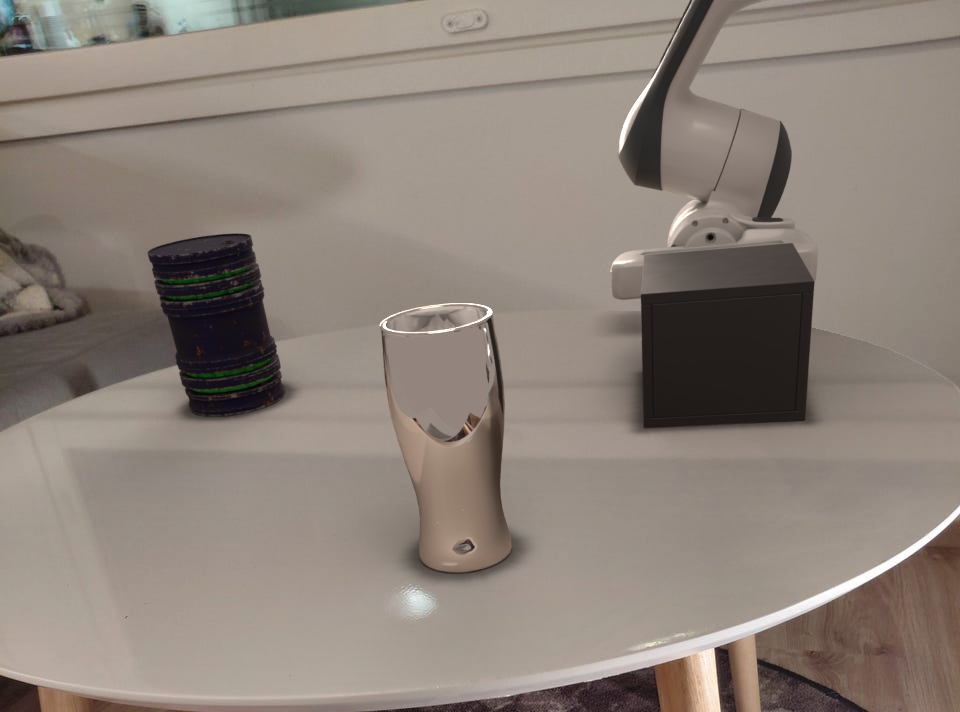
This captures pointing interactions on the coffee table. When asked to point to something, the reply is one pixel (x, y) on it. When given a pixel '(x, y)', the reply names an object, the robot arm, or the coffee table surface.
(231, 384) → the storage jar
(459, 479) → the beer glass
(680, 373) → the cabinet
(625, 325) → the coffee table surface
